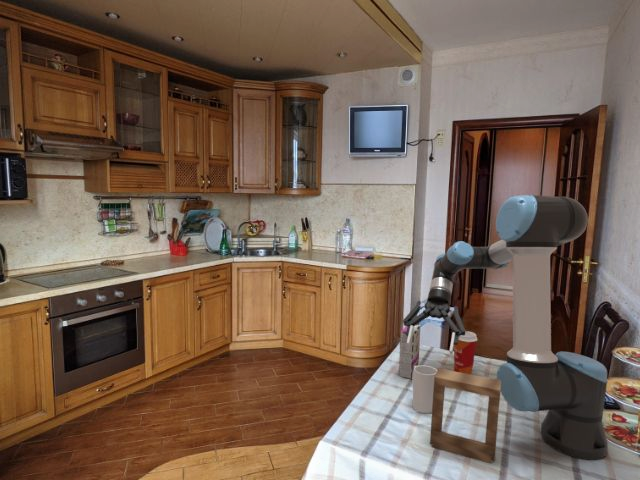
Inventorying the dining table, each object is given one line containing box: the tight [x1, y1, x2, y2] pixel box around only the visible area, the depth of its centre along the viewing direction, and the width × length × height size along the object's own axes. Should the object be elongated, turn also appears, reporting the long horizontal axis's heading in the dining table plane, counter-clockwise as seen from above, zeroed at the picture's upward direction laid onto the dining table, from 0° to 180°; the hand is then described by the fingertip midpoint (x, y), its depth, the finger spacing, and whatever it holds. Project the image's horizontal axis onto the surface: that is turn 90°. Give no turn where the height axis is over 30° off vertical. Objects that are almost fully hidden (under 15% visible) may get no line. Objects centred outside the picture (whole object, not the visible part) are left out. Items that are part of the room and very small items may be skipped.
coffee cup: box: [453, 330, 479, 375], centre depth 150 cm, size 8×8×15 cm
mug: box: [411, 364, 438, 414], centre depth 127 cm, size 10×7×12 cm, turn 18°
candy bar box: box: [398, 324, 421, 380], centre depth 150 cm, size 11×5×16 cm, turn 155°
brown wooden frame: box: [429, 367, 501, 464], centre depth 106 cm, size 15×7×18 cm, turn 65°
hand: (429, 348), depth 135 cm, fingers open, 13 cm apart
